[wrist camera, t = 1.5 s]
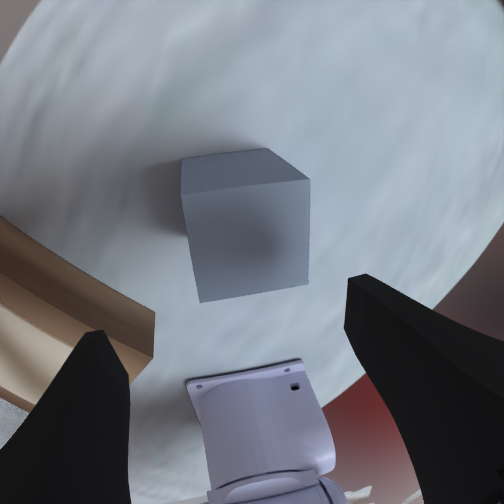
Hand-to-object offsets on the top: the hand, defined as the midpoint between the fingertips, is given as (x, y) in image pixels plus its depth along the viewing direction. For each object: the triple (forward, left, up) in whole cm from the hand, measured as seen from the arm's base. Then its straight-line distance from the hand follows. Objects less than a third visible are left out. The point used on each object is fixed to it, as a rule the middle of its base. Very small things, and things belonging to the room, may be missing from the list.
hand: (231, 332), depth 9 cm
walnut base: (+13, +6, -10) cm, 17 cm away
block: (-1, -1, -10) cm, 10 cm away
